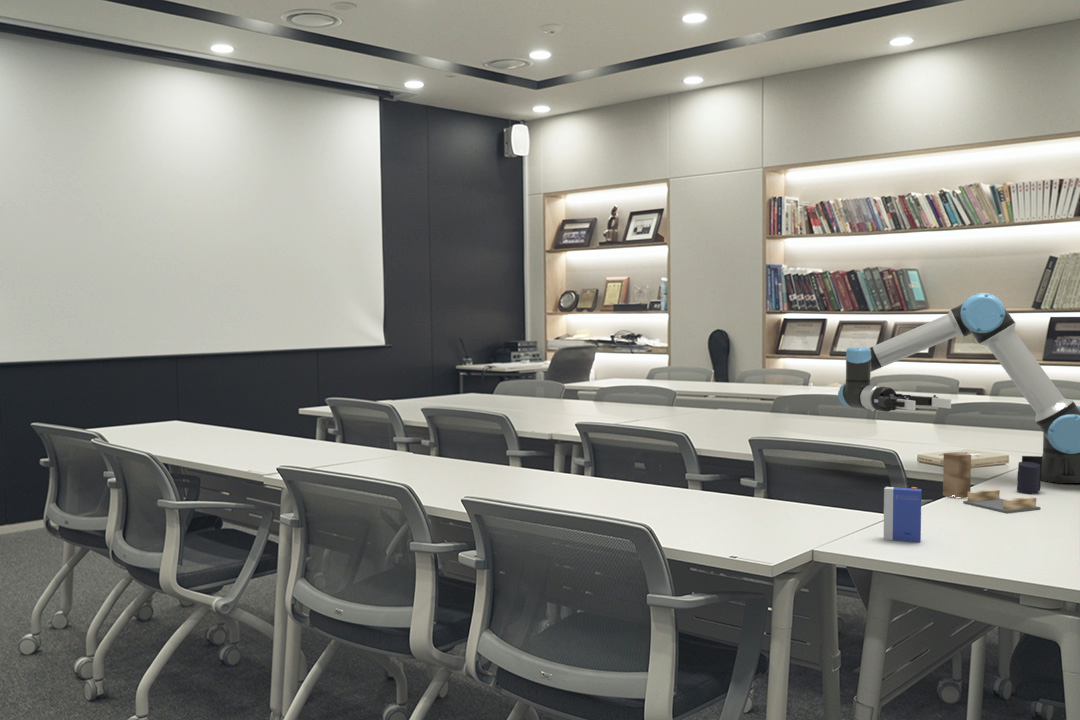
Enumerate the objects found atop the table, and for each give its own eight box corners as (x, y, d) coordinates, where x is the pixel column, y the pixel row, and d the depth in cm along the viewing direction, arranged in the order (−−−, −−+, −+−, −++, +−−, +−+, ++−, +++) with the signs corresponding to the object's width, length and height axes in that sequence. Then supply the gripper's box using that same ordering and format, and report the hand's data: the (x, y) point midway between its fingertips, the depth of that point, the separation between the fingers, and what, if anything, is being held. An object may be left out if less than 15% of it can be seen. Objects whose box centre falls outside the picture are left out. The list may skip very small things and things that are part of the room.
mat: (995, 499, 255) (996, 497, 254) (1040, 509, 242) (1040, 507, 242) (963, 503, 250) (963, 501, 250) (1006, 513, 237) (1006, 511, 237)
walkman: (920, 539, 210) (921, 487, 209) (920, 542, 207) (920, 489, 207) (884, 536, 213) (884, 485, 212) (883, 539, 210) (883, 487, 210)
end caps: (994, 498, 254) (994, 489, 254) (1036, 507, 242) (1036, 497, 242) (967, 501, 250) (967, 491, 250) (1008, 510, 238) (1008, 500, 238)
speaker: (1018, 487, 271) (1020, 453, 269) (1040, 490, 268) (1042, 456, 266) (1014, 494, 264) (1017, 459, 263) (1037, 497, 261) (1040, 462, 260)
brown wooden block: (956, 494, 263) (956, 452, 262) (970, 497, 258) (971, 454, 258) (942, 495, 261) (943, 453, 260) (956, 498, 256) (957, 455, 256)
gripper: (910, 409, 292) (964, 415, 272) (847, 412, 282) (898, 419, 263) (910, 385, 291) (964, 390, 272) (847, 387, 282) (899, 393, 262)
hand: (932, 404), depth 267 cm, fingers open, 13 cm apart
